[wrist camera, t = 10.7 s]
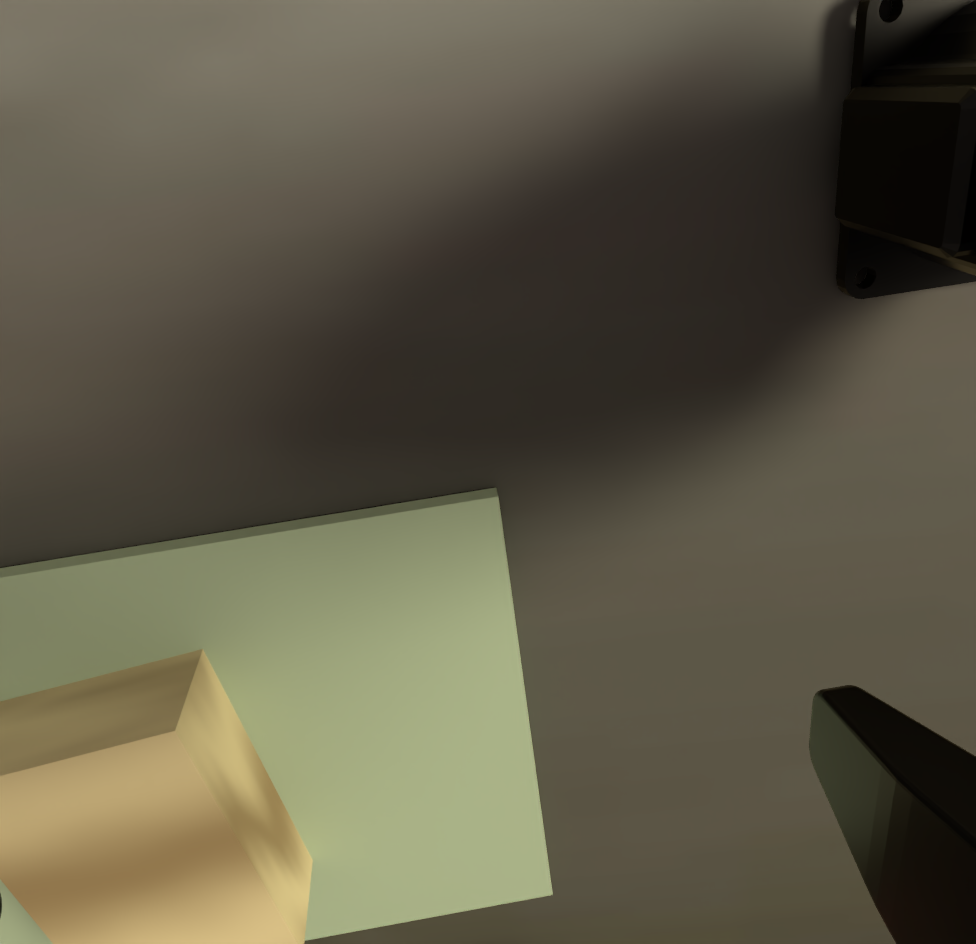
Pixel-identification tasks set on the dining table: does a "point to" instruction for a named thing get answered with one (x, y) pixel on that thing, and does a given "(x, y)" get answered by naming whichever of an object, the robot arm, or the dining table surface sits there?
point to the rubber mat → (330, 690)
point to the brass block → (146, 814)
